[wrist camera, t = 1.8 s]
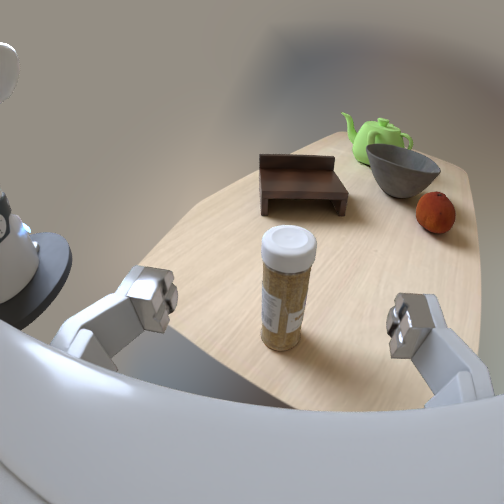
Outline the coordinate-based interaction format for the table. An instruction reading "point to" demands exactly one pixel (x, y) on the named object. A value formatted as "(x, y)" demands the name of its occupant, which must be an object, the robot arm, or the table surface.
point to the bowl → (401, 169)
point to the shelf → (300, 179)
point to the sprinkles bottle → (285, 283)
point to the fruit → (435, 212)
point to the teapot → (374, 136)
